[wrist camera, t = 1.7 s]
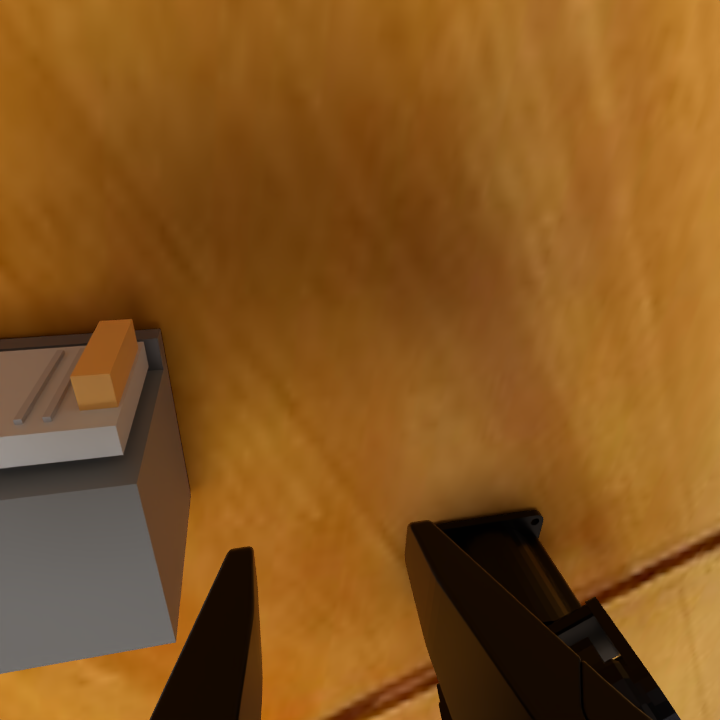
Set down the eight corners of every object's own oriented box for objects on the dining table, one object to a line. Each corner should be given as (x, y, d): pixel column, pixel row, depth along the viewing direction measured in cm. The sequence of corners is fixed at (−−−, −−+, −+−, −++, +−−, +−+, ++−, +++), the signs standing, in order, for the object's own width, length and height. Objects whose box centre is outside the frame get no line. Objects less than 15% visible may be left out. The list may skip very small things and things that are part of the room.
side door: (137, 312, 18) (106, 390, 13) (148, 366, 19) (123, 455, 14) (-64, 324, 16) (-168, 415, 12) (-40, 381, 17) (-129, 482, 13)
